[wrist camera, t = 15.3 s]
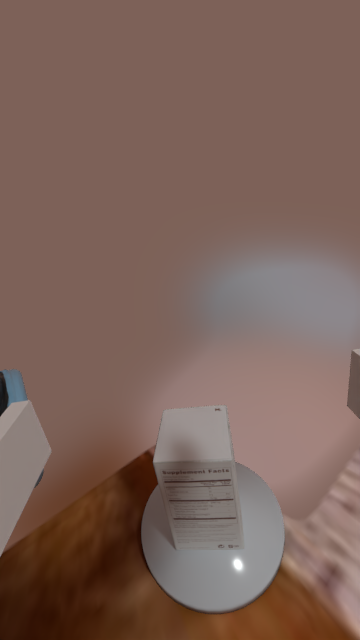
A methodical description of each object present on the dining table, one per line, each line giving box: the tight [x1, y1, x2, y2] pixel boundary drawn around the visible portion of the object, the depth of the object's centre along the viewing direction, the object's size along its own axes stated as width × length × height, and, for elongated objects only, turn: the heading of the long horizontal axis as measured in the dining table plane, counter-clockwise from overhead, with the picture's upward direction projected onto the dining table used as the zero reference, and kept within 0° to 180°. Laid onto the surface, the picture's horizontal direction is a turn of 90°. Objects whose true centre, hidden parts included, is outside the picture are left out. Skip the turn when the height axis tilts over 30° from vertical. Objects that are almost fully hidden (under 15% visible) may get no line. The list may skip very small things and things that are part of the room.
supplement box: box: [153, 405, 245, 550], centre depth 29 cm, size 7×7×13 cm
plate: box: [141, 462, 285, 614], centre depth 32 cm, size 16×16×1 cm
